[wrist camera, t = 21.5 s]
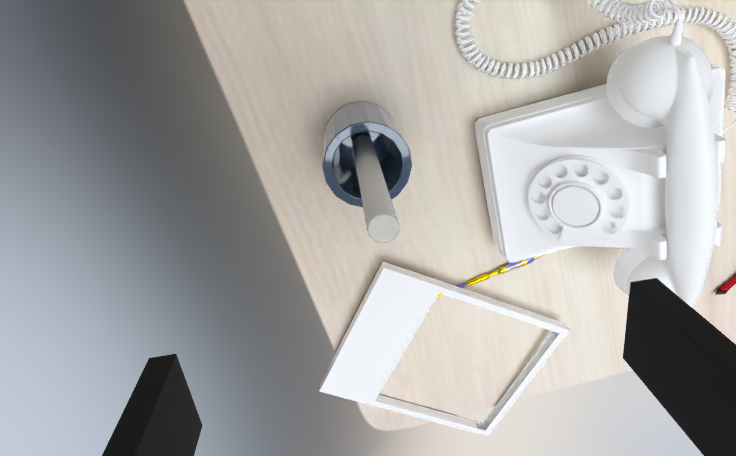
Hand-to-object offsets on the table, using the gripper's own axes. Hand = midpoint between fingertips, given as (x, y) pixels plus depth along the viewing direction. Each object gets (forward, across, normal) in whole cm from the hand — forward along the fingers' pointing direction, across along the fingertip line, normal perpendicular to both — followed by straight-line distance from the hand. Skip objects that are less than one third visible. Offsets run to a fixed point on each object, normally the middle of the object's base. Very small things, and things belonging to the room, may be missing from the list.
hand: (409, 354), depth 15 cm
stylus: (+26, 0, 0) cm, 26 cm away
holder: (+26, 0, 0) cm, 26 cm away
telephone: (+26, +19, -1) cm, 32 cm away
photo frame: (+25, -3, -16) cm, 30 cm away
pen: (+25, +9, -14) cm, 30 cm away
